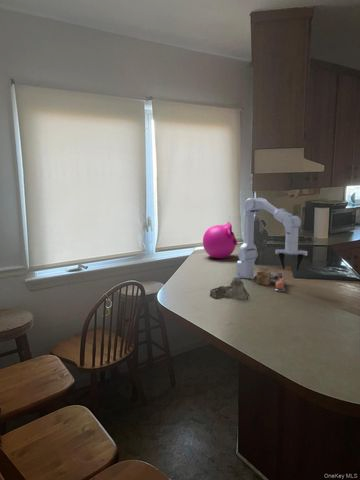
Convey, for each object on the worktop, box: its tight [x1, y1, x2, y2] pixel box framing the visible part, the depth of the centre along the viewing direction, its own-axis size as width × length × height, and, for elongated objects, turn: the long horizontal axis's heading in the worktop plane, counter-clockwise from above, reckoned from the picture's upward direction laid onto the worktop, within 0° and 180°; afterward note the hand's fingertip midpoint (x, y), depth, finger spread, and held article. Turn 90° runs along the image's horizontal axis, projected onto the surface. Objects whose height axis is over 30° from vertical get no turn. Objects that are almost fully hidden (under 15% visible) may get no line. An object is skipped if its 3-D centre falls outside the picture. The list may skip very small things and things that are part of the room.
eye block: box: [256, 267, 272, 286], centre depth 181 cm, size 6×8×6 cm
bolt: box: [269, 270, 284, 282], centre depth 180 cm, size 11×4×6 cm, turn 69°
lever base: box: [273, 287, 286, 293], centre depth 167 cm, size 5×5×1 cm
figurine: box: [202, 221, 238, 259], centre depth 243 cm, size 23×24×25 cm
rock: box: [209, 276, 250, 300], centre depth 160 cm, size 18×11×10 cm, turn 85°
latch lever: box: [275, 277, 285, 290], centre depth 170 cm, size 4×10×3 cm, turn 159°
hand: (290, 269), depth 168 cm, fingers open, 6 cm apart
